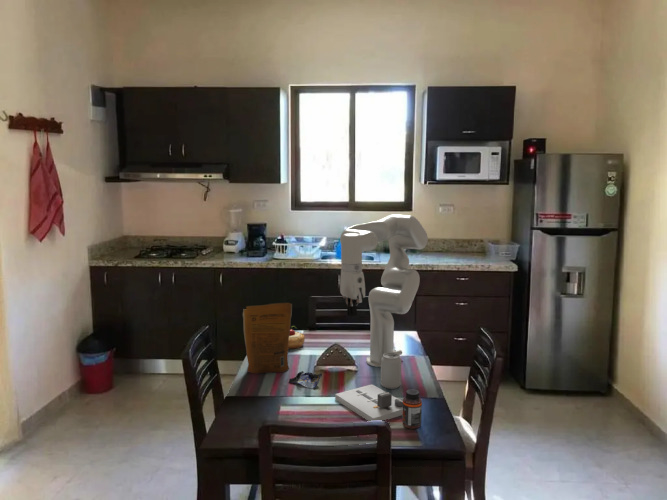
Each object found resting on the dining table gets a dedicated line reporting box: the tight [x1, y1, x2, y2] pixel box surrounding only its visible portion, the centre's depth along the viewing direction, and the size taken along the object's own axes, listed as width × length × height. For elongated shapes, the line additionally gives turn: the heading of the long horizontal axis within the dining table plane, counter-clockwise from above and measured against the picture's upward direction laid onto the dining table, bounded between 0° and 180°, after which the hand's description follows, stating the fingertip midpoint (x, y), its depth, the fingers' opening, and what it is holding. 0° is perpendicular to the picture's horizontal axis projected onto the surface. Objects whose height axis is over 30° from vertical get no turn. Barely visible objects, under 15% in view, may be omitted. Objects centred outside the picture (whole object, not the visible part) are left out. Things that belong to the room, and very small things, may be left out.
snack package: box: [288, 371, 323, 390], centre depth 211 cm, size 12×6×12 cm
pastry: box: [288, 325, 306, 350], centre depth 253 cm, size 12×12×9 cm
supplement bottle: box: [402, 388, 423, 429], centre depth 178 cm, size 6×6×11 cm
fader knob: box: [377, 391, 393, 408], centre depth 186 cm, size 4×2×4 cm, turn 123°
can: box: [380, 353, 402, 390], centre depth 208 cm, size 8×8×12 cm
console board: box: [334, 384, 403, 422], centre depth 192 cm, size 16×22×4 cm
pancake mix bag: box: [242, 302, 293, 375], centre depth 220 cm, size 7×19×28 cm, turn 98°
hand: (352, 315), depth 209 cm, fingers closed
